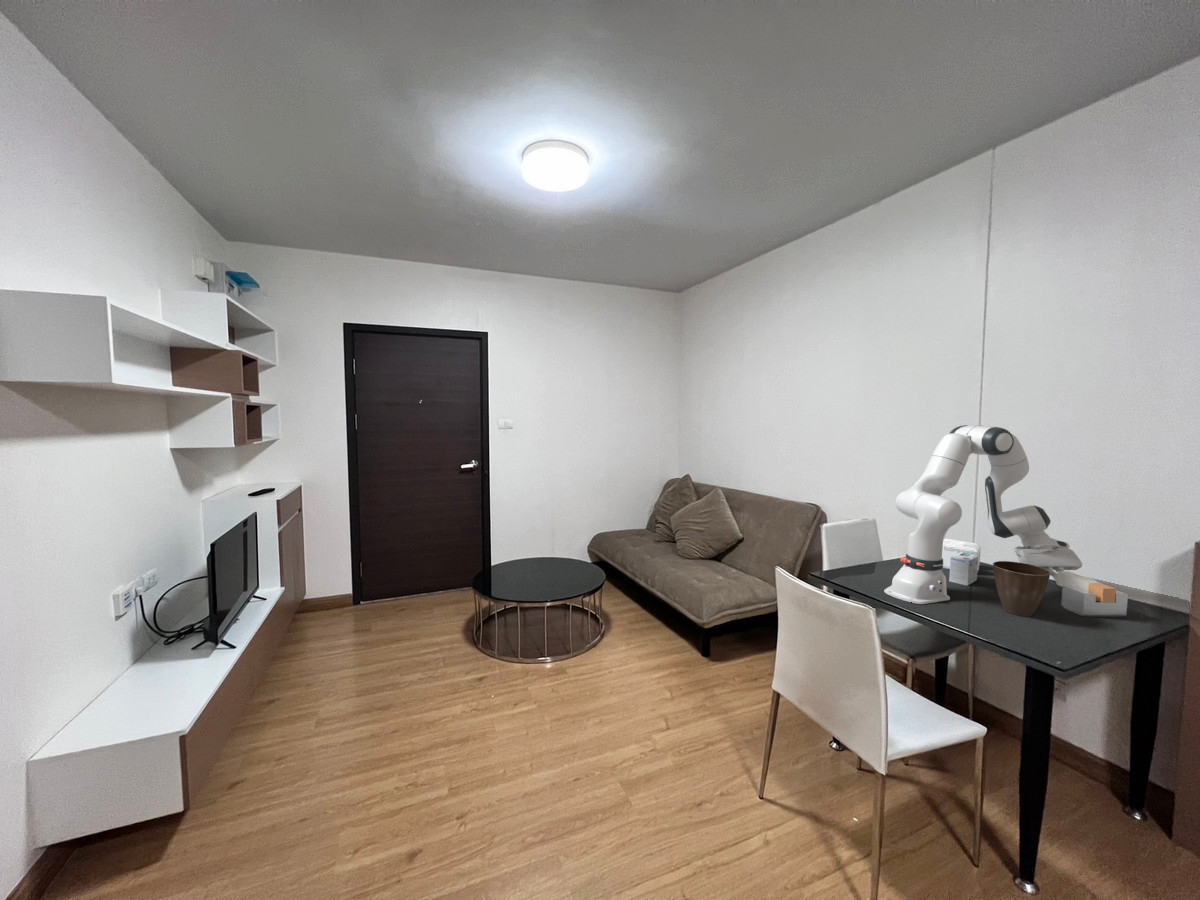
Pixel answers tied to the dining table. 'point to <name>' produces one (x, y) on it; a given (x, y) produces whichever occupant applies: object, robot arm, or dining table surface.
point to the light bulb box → (963, 568)
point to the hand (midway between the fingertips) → (1060, 579)
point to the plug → (1087, 586)
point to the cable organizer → (958, 550)
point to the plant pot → (1020, 586)
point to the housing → (1092, 603)
